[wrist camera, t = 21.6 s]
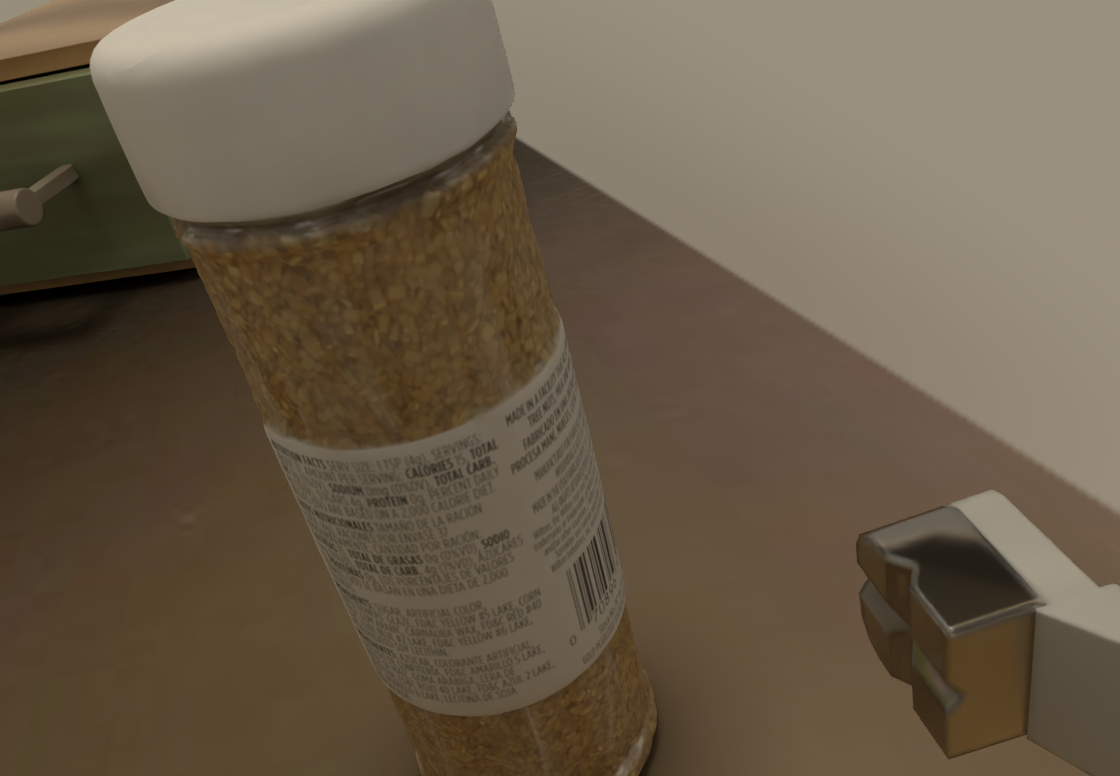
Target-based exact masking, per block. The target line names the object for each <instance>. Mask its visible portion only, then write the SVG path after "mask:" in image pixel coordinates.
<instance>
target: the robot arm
mask: <svg viewBox="0 0 1120 776" xmlns="http://www.w3.org/2000/svg"><path fill="white" fill-rule="evenodd" d="M856 552H857V563H858V564H859V566H860V567H861V568H862V570H863V571H864V573H865V574H866V575H867V577H868V579H867V581H866V582H865V584H864V585H863V587H862V589H861V590H860V592H859V596H860V605H861V614H862V618H863V621H864V624H865V627H866V630H867V633H868V636H869V639H870V641H871V643H872V645H873V647H874V649H875V651H876V653H877V655H878V657H879V659H880V660H881V662H882V663H883V665H884V666H885V668H886V669H887V671H888V672H889V674H890V675H891V676H892V677H894V678H896V679H899V680H901V681H903V682H905V683H907V684H909V685H912V692H913V709H914V711H915V712H916V713H917V715H918V716H919V718H920V719H921V721H922V722H923V724H924V725H925V726H926V728H927V729H928V731H929V732H930V734H931V735H932V737H933V738H934V739H935V741H936V742H937V744H938V745H939V747H940V748H941V750H942V751H943V752H944V754H945V755H946V757H947V758H948V759H951V758H955V757H958V756H961V755H964V754H967V753H970V752H973V751H977V750H980V749H983V748H986V747H989V746H992V745H995V744H998V743H1002V742H1005V741H1008V740H1011V739H1014V738H1017V737H1020V736H1023V735H1027V739H1028V740H1030V741H1032V742H1034V743H1035V744H1037V745H1039V746H1041V747H1042V748H1044V749H1046V750H1047V751H1049V752H1051V753H1053V754H1054V755H1056V756H1058V757H1060V758H1061V759H1063V760H1065V761H1067V762H1068V763H1070V764H1072V765H1074V766H1075V767H1077V768H1079V769H1080V770H1082V771H1084V772H1086V773H1087V774H1089V775H1091V776H1120V585H1117V584H1114V583H1113V584H1109V585H1106V586H1103V587H1099V586H1098V585H1096V584H1095V583H1094V582H1093V581H1092V580H1091V579H1090V578H1089V577H1088V576H1087V575H1086V574H1085V573H1084V572H1083V571H1082V570H1081V569H1080V568H1079V567H1078V566H1077V565H1076V564H1075V563H1074V562H1072V561H1071V560H1070V559H1069V558H1068V557H1067V556H1066V555H1065V554H1064V553H1063V552H1062V551H1061V550H1060V549H1059V548H1058V547H1057V546H1056V545H1055V544H1054V543H1053V542H1052V541H1051V540H1050V539H1048V538H1047V537H1046V536H1045V535H1044V534H1043V533H1042V532H1041V531H1040V530H1039V529H1038V528H1037V527H1036V526H1035V525H1034V524H1033V523H1032V522H1031V521H1030V520H1029V519H1028V518H1027V517H1026V516H1024V515H1023V514H1022V513H1021V512H1020V511H1019V510H1018V509H1017V508H1016V507H1015V506H1014V505H1013V504H1012V503H1011V502H1010V501H1009V500H1008V499H1007V498H1006V497H1005V496H1004V495H1003V494H1001V493H999V492H996V491H994V490H989V491H986V492H983V493H980V494H977V495H974V496H971V497H968V498H965V499H962V500H959V501H956V502H953V503H950V504H948V505H947V506H941V507H938V508H935V509H932V510H929V511H926V512H923V513H921V514H918V515H915V516H912V517H909V518H906V519H903V520H900V521H897V522H894V523H891V524H888V525H885V526H883V527H880V528H877V529H874V530H871V531H868V532H865V533H862V534H859V537H858V540H857V543H856Z"/></svg>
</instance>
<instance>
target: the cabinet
mask: <svg viewBox="0 0 1120 776" xmlns="http://www.w3.org/2000/svg"><path fill="white" fill-rule="evenodd" d="M172 1H174V0H55V1H51V2H49V3H46V4H44V5H42V6H39V7H37V8H35V9H33V10H30V11H28V12H26V13H24V14H21V15H19V16H17V17H14V18H13V19H10V20H8V21H5V22H3V23H1V24H0V82H2V81H7V80H12V79H17V78H22V77H27V76H32V75H37V74H42V73H47V72H52V71H57V70H62V69H67V68H72V67H77V66H82V65H87V64H90V58H91V56H92V53H93V50H94V48H95V47H96V46H97V44H98V43H99V42H100V40H101V39H103V38H104V37H105V36H107V35H108V34H109V33H110V32H112V31H113V30H114V29H116V28H118V27H120V26H121V25H123V24H125V23H126V22H128V21H130V20H132V19H134V18H136V17H138V16H140V15H142V14H144V13H146V12H149V11H151V10H153V9H155V8H157V7H160V6H162V5H165V4H167V3H170V2H172ZM190 268H196V266H195V263H194V261H193V260H192V258H191V257H190V258H189V259H188V260H185V261H178V262H171V263H164V264H157V265H150V266H143V267H136V268H129V269H122V270H115V271H108V272H101V273H94V274H87V275H80V276H73V277H66V278H59V279H52V280H45V281H38V282H31V283H24V284H17V285H10V286H3V287H0V295H5V294H12V293H19V292H27V291H34V290H41V289H48V288H55V287H62V286H69V285H76V284H83V283H90V282H98V281H105V280H112V279H119V278H126V277H133V276H140V275H147V274H154V273H161V272H169V271H176V270H183V269H190Z"/></svg>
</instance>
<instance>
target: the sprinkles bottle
mask: <svg viewBox="0 0 1120 776" xmlns="http://www.w3.org/2000/svg"><path fill="white" fill-rule="evenodd" d="M90 71H91V76H92V81H93V83H94V85H95V88H96V90H97V92H98V94H99V97H100V99H101V101H102V104H103V106H104V108H105V111H106V113H107V115H108V117H109V120H110V122H111V124H112V127H113V129H114V131H115V133H116V135H117V138H118V140H119V142H120V144H121V146H122V149H123V151H124V153H125V155H126V157H127V159H128V162H129V164H130V166H131V168H132V170H133V172H134V175H135V177H136V179H137V181H138V183H139V185H140V187H141V189H142V191H143V193H144V195H145V197H146V199H147V201H148V203H149V204H150V205H151V206H152V207H153V208H154V209H156V210H157V211H158V212H161V213H163V214H165V215H167V216H170V217H172V221H173V226H174V228H175V229H176V237H177V238H178V239H179V240H180V241H181V242H182V243H183V245H185V246H186V247H187V249H188V250H189V252H190V256H191V258H192V260H193V261H194V263H195V266H196V268H197V271H198V274H199V276H200V278H201V279H202V281H203V283H204V286H205V288H206V290H207V292H208V294H209V296H210V298H211V301H212V303H213V305H214V307H215V309H216V313H217V316H218V318H219V321H220V323H221V325H222V326H223V328H224V330H225V333H226V335H227V338H228V341H229V342H230V343H231V344H232V345H233V346H234V348H235V351H236V356H237V359H238V361H239V363H240V365H241V366H242V368H243V370H244V372H245V376H246V380H247V381H248V383H249V386H250V389H251V392H252V395H253V398H254V401H255V403H256V405H257V407H258V409H259V411H260V412H261V414H262V416H263V425H264V428H265V431H266V434H267V436H268V438H269V441H270V443H271V445H272V447H273V450H274V452H275V454H276V456H277V459H278V461H279V463H280V465H281V467H282V470H283V472H284V474H285V477H286V479H287V481H288V483H289V485H290V487H291V490H292V492H293V494H294V496H295V498H296V500H297V502H298V504H299V506H300V508H301V511H302V513H303V515H304V518H305V520H306V522H307V525H308V527H309V530H310V532H311V534H312V537H313V539H314V541H315V544H316V546H317V548H318V550H319V553H320V555H321V557H322V559H323V561H324V563H325V565H326V567H327V569H328V572H329V574H330V576H331V578H332V580H333V582H334V584H335V586H336V589H337V591H338V593H339V595H340V597H341V599H342V602H343V604H344V606H345V608H346V610H347V612H348V615H349V617H350V619H351V621H352V623H353V625H354V627H355V630H356V632H357V634H358V636H359V638H360V640H361V642H362V645H363V647H364V649H365V651H366V653H367V655H368V657H369V660H370V662H371V664H372V666H373V668H374V670H375V672H376V673H377V675H378V676H379V678H380V679H381V681H382V682H383V683H384V684H385V685H386V686H387V687H388V689H389V691H390V693H391V696H392V698H393V701H394V703H395V706H396V708H397V710H398V712H399V714H400V716H401V718H402V719H403V721H404V723H405V726H406V728H407V731H408V733H409V735H410V737H411V740H412V742H413V745H414V748H415V752H416V759H417V763H418V767H419V771H420V775H421V776H639V774H640V772H641V770H642V768H643V766H644V764H645V762H646V760H647V758H648V756H649V753H650V750H651V747H652V739H653V735H654V733H655V731H656V726H657V709H656V705H655V698H654V691H653V687H652V684H651V682H650V680H649V677H648V675H647V673H646V670H645V668H644V667H643V665H642V663H641V662H640V659H639V655H638V651H637V647H636V643H635V638H634V634H633V631H632V627H631V624H630V621H629V617H628V614H627V609H626V604H625V583H624V578H623V572H622V568H621V564H620V560H619V555H618V551H617V547H616V543H615V539H614V535H613V531H612V526H611V522H610V518H609V514H608V509H607V505H606V501H605V496H604V492H603V488H602V484H601V479H600V475H599V471H598V467H597V462H596V458H595V454H594V449H593V445H592V440H591V436H590V432H589V427H588V423H587V419H586V415H585V412H584V408H583V404H582V400H581V396H580V392H579V388H578V384H577V380H576V376H575V372H574V367H573V363H572V359H571V355H570V351H569V347H568V343H567V339H566V335H565V331H564V327H563V323H562V319H561V317H560V315H559V313H558V311H557V310H556V308H555V306H554V305H553V300H552V295H551V292H550V288H549V284H548V281H547V277H546V274H545V269H544V265H543V260H542V256H541V251H540V248H539V246H538V243H537V240H536V236H535V233H534V230H533V227H532V224H531V222H530V219H529V213H528V209H527V201H526V197H525V193H524V188H523V184H522V179H521V175H520V171H519V167H518V164H517V161H516V159H515V157H514V155H513V147H514V140H515V136H516V133H517V124H516V121H515V119H514V118H513V117H512V116H511V114H510V111H509V109H510V107H511V105H512V103H513V101H514V94H515V92H514V85H513V81H512V76H511V72H510V68H509V64H508V61H507V56H506V52H505V48H504V44H503V40H502V37H501V33H500V29H499V25H498V21H497V18H496V14H495V10H494V6H493V3H492V0H174V1H172V2H170V3H167V4H165V5H162V6H160V7H157V8H155V9H153V10H151V11H149V12H146V13H144V14H142V15H140V16H138V17H136V18H134V19H132V20H130V21H128V22H126V23H125V24H123V25H121V26H120V27H118V28H116V29H114V30H113V31H112V32H110V33H109V34H108V35H107V36H105V37H104V38H103V39H101V40H100V42H99V43H98V44H97V46H96V47H95V48H94V50H93V53H92V56H91V58H90Z"/></svg>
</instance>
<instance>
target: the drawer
mask: <svg viewBox="0 0 1120 776" xmlns="http://www.w3.org/2000/svg"><path fill="white" fill-rule="evenodd" d="M190 257H191V256H190V252H189V250H188V249H187V247H186V246H185V245H183V243H182V242H181V241H180V240H179V239H178V238H177V237H176V229H175V228H174V226H173V221H172V217H170V216H167V215H165V214H163V213H161V212H158V211H157V210H156V209H154V208H153V207H152V206H151V205H150V204H149V203H148V201H147V199H146V197H145V195H144V193H143V191H142V189H141V187H140V185H139V183H138V181H137V179H136V177H135V175H134V172H133V170H132V168H131V166H130V164H129V162H128V159H127V157H126V155H125V153H124V151H123V149H122V146H121V144H120V142H119V140H118V138H117V135H116V133H115V131H114V129H113V127H112V124H111V122H110V120H109V117H108V115H107V113H106V111H105V108H104V106H103V104H102V101H101V99H100V97H99V94H98V92H97V90H96V88H95V85H94V83H93V81H92V76H91V71H90V64H87V65H82V66H77V67H72V68H67V69H62V70H57V71H52V72H47V73H42V74H37V75H32V76H27V77H22V78H17V79H12V80H7V81H2V82H0V287H3V286H10V285H17V284H24V283H31V282H38V281H45V280H52V279H59V278H66V277H73V276H80V275H87V274H94V273H101V272H108V271H115V270H122V269H129V268H136V267H143V266H150V265H157V264H164V263H171V262H178V261H185V260H188V259H189V258H190Z"/></svg>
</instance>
